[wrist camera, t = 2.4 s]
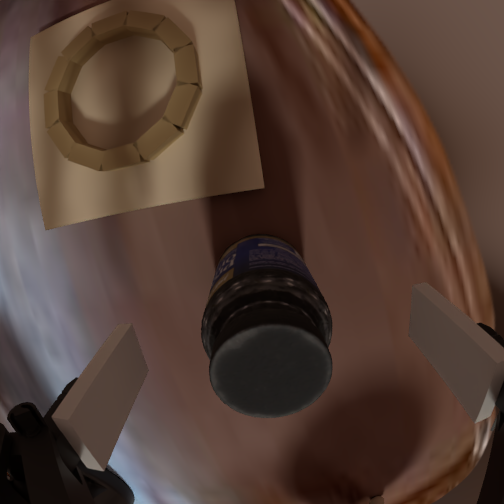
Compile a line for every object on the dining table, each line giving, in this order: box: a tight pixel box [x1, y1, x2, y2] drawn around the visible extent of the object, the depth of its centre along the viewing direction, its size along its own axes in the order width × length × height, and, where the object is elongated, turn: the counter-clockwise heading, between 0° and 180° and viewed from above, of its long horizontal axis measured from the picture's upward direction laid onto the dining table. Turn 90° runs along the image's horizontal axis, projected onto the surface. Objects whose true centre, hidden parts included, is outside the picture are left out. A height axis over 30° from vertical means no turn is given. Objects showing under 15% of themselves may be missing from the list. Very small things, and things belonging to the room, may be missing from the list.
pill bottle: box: [201, 234, 332, 418], centre depth 16 cm, size 6×6×11 cm
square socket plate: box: [29, 0, 265, 230], centre depth 17 cm, size 16×16×3 cm
